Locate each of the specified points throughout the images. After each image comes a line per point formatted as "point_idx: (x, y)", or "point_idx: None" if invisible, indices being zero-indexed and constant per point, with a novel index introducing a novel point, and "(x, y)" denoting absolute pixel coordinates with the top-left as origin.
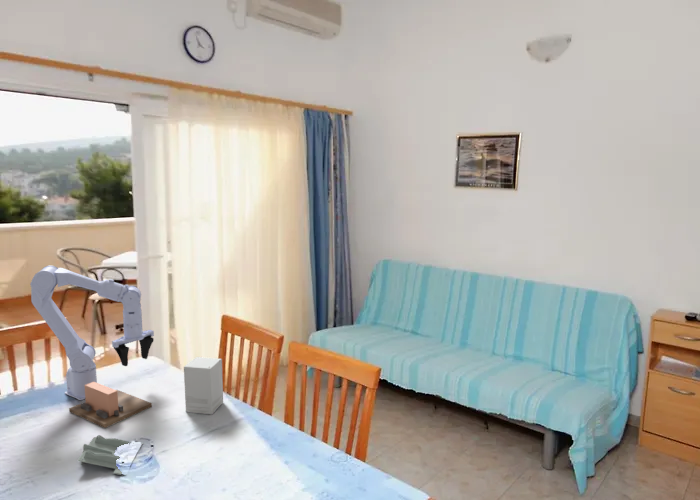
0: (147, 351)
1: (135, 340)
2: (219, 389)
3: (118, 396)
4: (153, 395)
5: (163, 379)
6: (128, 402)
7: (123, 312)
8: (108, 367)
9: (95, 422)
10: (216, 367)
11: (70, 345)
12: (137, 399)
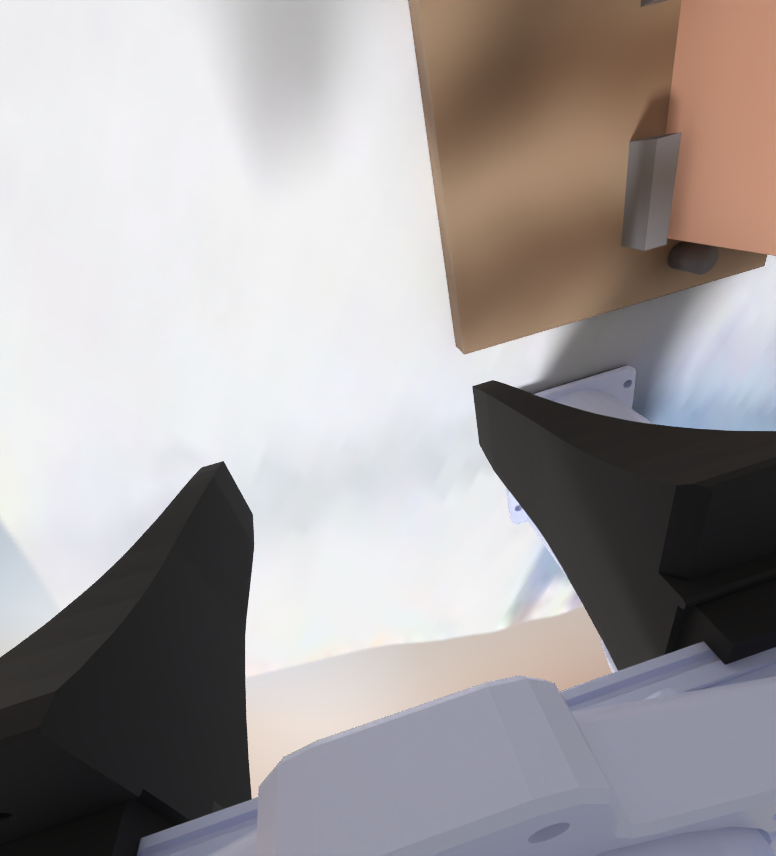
0: (173, 522)
1: (577, 712)
2: None
3: (513, 223)
4: (264, 83)
5: (102, 367)
6: (529, 11)
7: None
8: (349, 650)
9: None
10: None
11: None
12: (445, 12)
